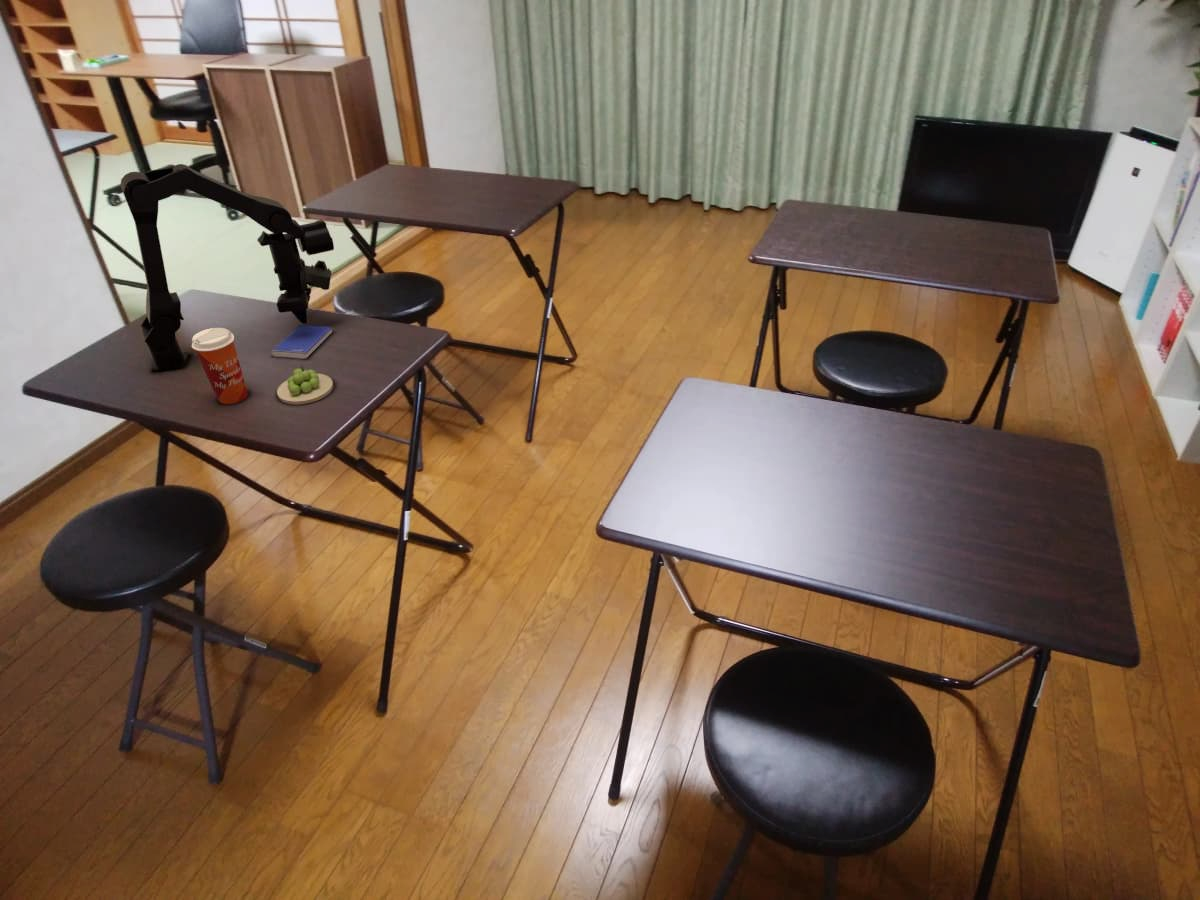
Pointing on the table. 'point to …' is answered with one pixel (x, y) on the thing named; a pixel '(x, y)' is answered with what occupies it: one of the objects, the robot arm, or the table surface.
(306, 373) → the green grapes
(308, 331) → the blue book
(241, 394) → the paper cup
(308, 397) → the grape saucer
